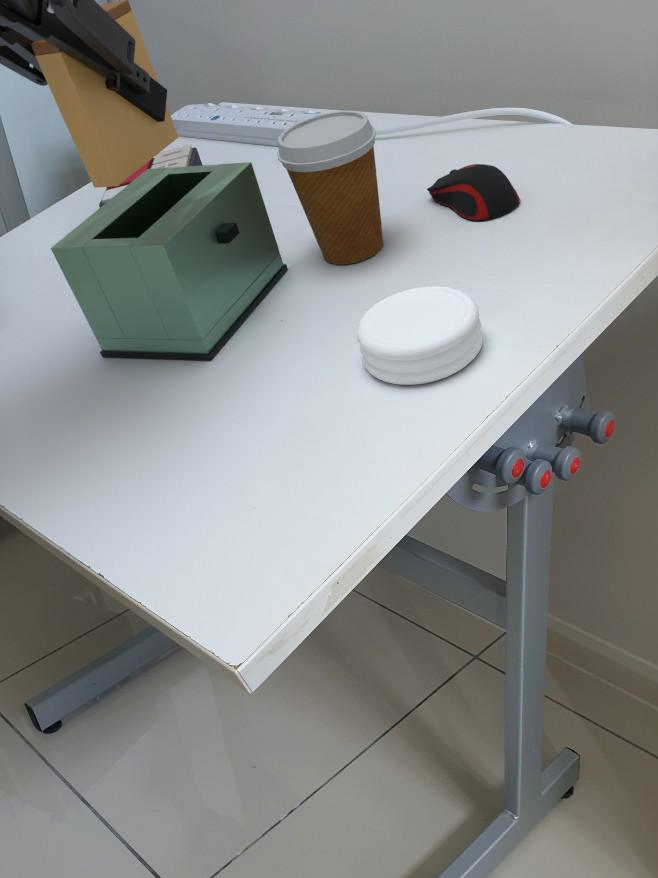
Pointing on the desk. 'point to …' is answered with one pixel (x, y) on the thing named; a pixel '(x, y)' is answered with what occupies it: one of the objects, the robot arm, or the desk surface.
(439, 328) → the white round container
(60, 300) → the desk surface
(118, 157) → the toast
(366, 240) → the disposable coffee cup
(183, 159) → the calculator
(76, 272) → the toaster
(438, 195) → the computer mouse
